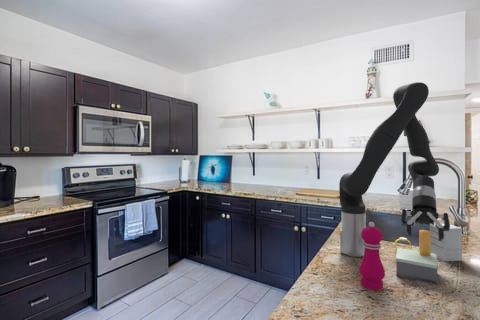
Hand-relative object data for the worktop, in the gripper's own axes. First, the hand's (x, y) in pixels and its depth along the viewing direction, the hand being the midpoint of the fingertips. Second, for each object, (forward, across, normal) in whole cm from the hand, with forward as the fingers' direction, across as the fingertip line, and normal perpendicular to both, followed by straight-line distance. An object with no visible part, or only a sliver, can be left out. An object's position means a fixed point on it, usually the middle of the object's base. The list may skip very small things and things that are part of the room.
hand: (424, 237), depth 91 cm
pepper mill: (+24, -14, -7) cm, 28 cm away
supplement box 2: (-4, +7, +21) cm, 22 cm away
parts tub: (+11, -3, +5) cm, 13 cm away
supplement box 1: (-70, -7, +87) cm, 112 cm away
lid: (+8, -3, +2) cm, 9 cm away
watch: (-3, -7, +19) cm, 21 cm away
